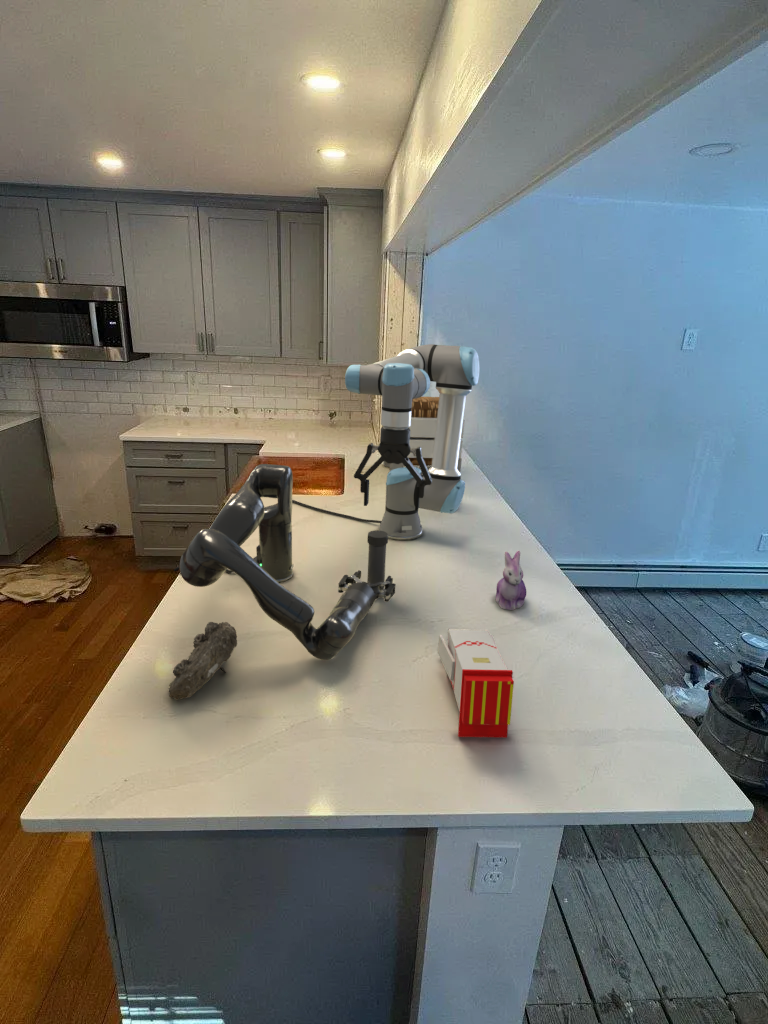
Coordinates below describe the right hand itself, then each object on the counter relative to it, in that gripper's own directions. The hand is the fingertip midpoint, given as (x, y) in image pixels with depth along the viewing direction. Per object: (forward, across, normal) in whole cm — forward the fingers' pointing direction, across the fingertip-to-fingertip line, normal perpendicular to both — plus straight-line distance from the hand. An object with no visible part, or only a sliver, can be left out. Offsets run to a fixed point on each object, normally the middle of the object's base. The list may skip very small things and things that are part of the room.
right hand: (391, 506), depth 150 cm
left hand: (+19, +3, +3) cm, 20 cm away
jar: (+25, +3, +1) cm, 26 cm away
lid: (+8, +3, +1) cm, 9 cm away
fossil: (+26, +32, +44) cm, 60 cm away
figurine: (+25, -34, -2) cm, 42 cm away
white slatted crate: (+25, +4, -125) cm, 127 cm away
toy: (+26, -24, +39) cm, 52 cm away
